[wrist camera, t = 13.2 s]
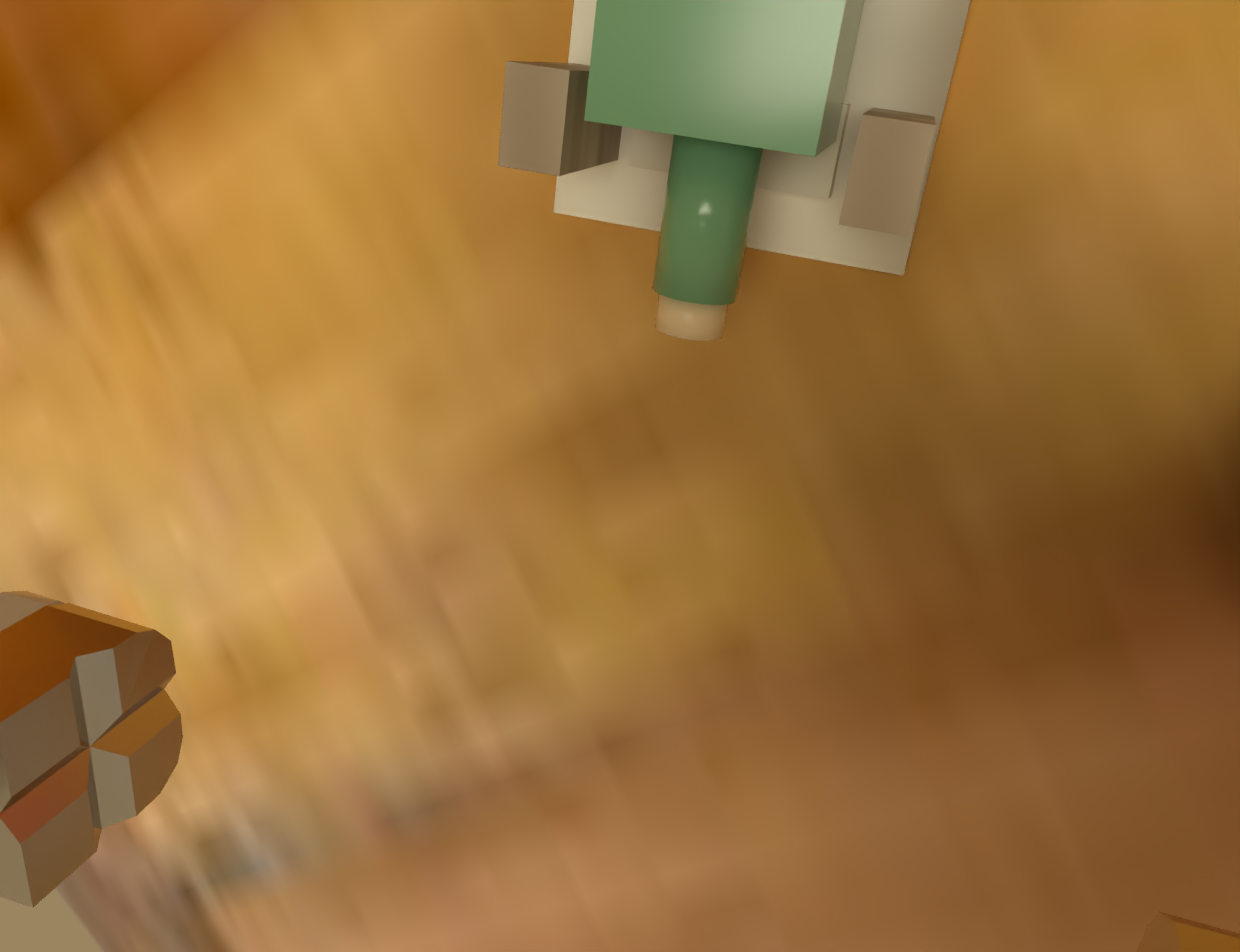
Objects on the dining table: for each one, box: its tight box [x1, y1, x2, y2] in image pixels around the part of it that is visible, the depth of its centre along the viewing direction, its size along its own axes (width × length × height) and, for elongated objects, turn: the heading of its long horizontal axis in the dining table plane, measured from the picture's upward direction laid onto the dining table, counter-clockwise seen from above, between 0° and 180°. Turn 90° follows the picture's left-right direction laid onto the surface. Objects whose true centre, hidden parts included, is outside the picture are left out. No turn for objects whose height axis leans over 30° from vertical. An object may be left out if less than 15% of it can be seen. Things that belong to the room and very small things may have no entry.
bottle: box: [584, 0, 864, 341], centre depth 23 cm, size 5×14×6 cm, turn 173°
